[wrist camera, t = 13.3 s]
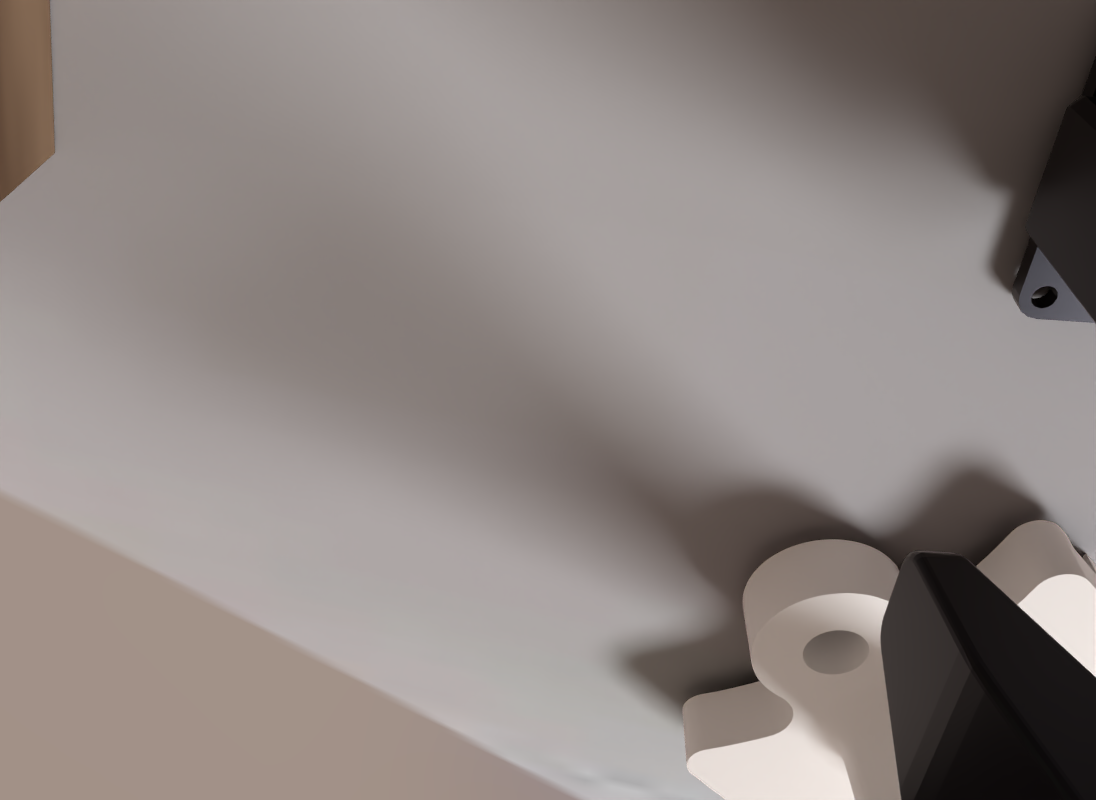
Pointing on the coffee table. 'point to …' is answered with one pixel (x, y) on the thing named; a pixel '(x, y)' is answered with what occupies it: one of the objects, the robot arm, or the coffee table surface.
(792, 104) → the coffee table surface
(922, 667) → the robot arm
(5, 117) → the base block
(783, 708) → the joystick
